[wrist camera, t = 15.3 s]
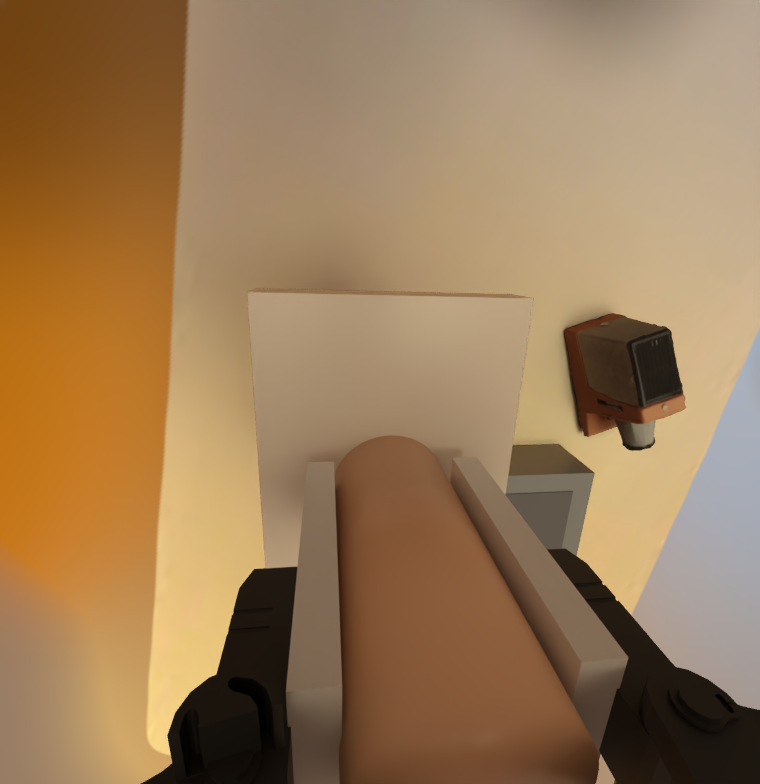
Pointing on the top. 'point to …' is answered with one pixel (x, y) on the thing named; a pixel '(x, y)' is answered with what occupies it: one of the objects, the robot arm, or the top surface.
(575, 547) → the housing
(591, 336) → the electronic device
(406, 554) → the cover
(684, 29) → the top surface
